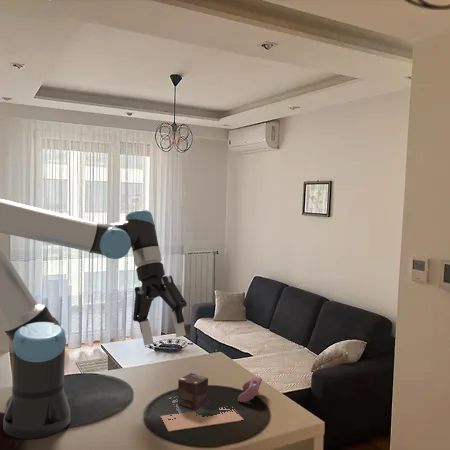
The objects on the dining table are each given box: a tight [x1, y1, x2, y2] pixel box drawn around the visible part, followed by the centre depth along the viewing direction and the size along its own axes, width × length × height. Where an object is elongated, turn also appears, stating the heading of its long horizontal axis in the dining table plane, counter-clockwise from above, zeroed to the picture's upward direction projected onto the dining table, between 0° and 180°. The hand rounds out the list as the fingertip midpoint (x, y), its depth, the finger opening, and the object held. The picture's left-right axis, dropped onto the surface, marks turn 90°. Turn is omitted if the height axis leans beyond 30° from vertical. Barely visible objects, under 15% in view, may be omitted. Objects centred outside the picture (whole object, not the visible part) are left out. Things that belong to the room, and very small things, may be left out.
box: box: [177, 372, 209, 411], centre depth 127 cm, size 6×6×7 cm
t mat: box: [159, 396, 244, 433], centre depth 125 cm, size 18×20×1 cm
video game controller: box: [237, 375, 263, 403], centre depth 134 cm, size 10×5×7 cm, turn 168°
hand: (164, 340), depth 126 cm, fingers open, 13 cm apart
